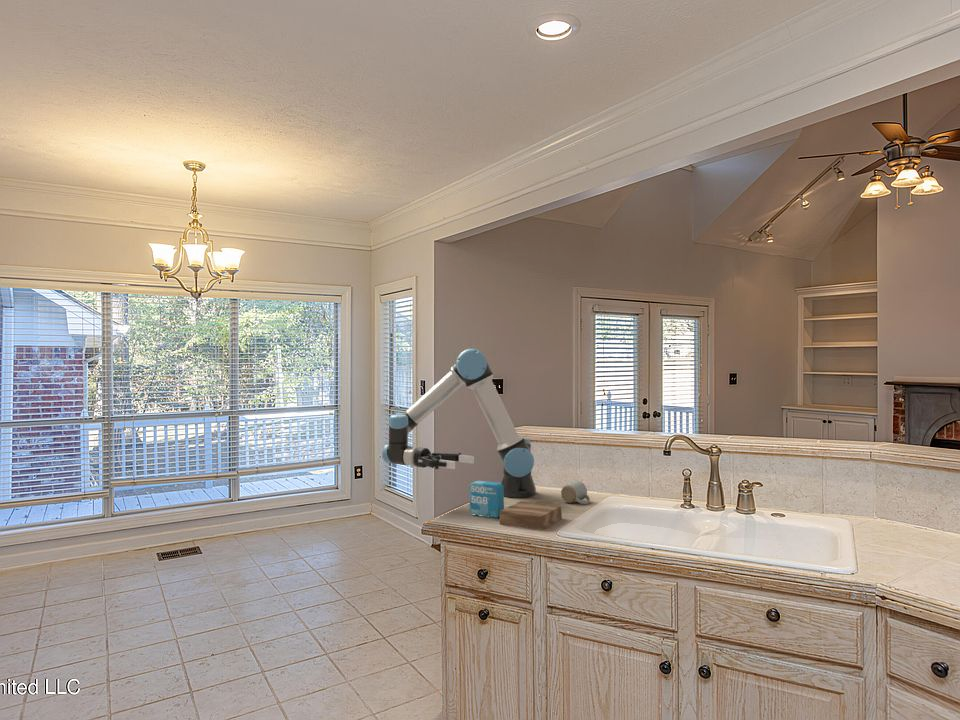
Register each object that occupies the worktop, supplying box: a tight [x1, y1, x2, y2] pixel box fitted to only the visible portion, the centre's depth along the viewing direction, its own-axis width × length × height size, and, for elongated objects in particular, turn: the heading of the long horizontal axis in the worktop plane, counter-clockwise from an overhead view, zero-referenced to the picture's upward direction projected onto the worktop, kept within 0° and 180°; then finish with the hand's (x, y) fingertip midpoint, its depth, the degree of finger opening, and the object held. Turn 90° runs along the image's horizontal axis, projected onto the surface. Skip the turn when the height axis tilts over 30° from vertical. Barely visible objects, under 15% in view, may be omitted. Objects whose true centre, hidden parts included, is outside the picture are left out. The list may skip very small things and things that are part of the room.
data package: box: [468, 480, 505, 519], centre depth 221 cm, size 12×4×12 cm, turn 61°
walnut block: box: [499, 500, 563, 531], centre depth 212 cm, size 16×16×5 cm
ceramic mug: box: [560, 480, 591, 505], centre depth 238 cm, size 11×8×8 cm
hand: (464, 462), depth 226 cm, fingers open, 13 cm apart
